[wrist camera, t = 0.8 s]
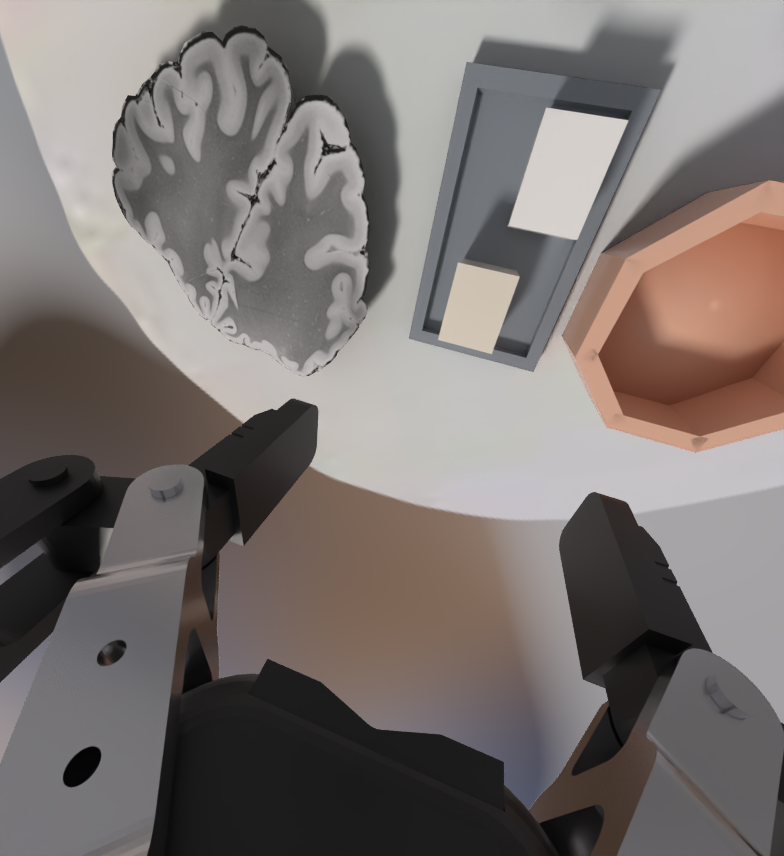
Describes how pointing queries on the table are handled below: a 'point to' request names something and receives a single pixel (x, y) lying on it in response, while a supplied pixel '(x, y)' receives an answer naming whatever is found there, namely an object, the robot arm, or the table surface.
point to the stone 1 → (478, 304)
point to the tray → (495, 196)
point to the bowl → (690, 323)
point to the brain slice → (248, 197)
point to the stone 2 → (565, 172)
